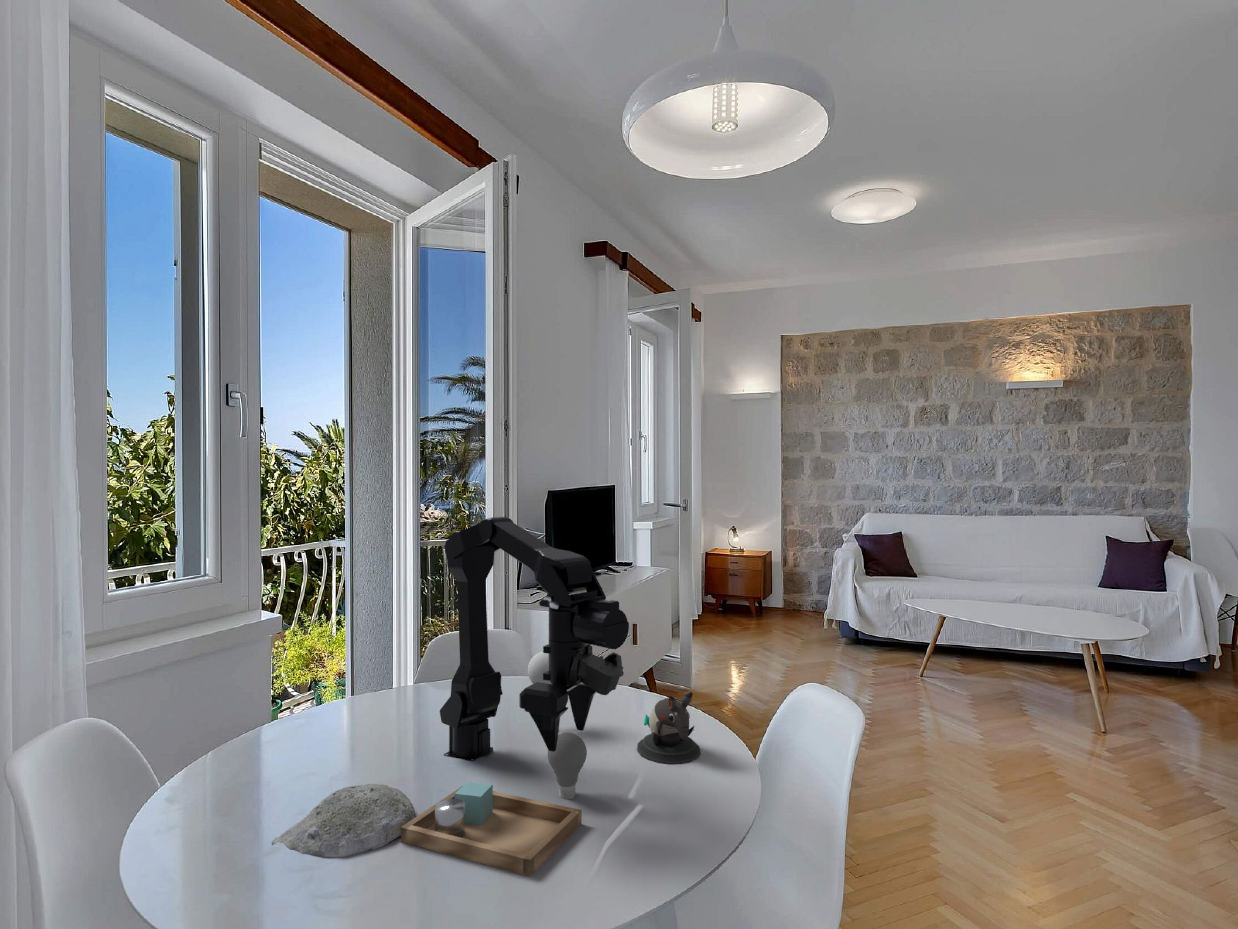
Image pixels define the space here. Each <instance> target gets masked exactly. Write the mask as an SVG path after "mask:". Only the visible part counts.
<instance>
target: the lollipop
mask: <svg viewBox="0 0 1238 929" xmlns="http://www.w3.org/2000/svg"><path fill="white" fill-rule="evenodd" d="M548 667H549V654H548V653H543V651H539V652H538V653H536V654H534V656H532V658H531V659H530V660H529V663H528V666H527V676H528V679H529V681H530V682H531V683H532V684H534V683H536V682H540V683H547V684H552V683H551V681H547V680H543V673H545V672H547V671H548Z"/></svg>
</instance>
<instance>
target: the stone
mask: <svg viewBox="0 0 1238 929" xmlns="http://www.w3.org/2000/svg"><path fill="white" fill-rule="evenodd" d="M415 814H416V811H415V806H414V805H413V803H412V802H411V800H410V798H408V796H407V795H406V794H405V793H404V792H402V790H400V789H399V788H396V787H392V786H388V785H385V784H383V783H382V784H381V783H380V784H379V783H378V784H377V783H366V784H360V785H352V786H350V785H349V786H345V787H343V788H340V789H338V790H335V791H333V792H331V793H330V794H329V795H327V796H326V797H325V798H323V799H322V800H321V801H319V803H318V804H317V805H315V806H314V807H313V808H312V809H311V810H310V811H309V812H308V813H307V814H306V815H305V817H303V818H302V819H300V821H299V822H297V823H296V824H294V825H292V826H291V827H289V828H288V829H287V830H285V831H284V832H282V833H281V834H280V835H279V836H278V837H275V838H274V839H273V840H272V841H271V846H274V845H276V844H277V843H280V844H283V845H284V846H285V847H286V848H287V849H288V850H293V851H295V852H298V853H300V854H301V855H310V856H315V857H319V858H345V857H348V856H353V855H357V854H360V853H364V852H368V851H371V850H376V849H379V848H382V847H384V846H385V845H388V844H390V843H391V842H392V841H394V840H395V839H397V838H399V837H401V827H402V826H403V825H405V824H406V823H408V822H409V821H411V820H412V819H414V818H415V817H416V816H415Z"/></svg>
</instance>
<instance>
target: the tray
mask: <svg viewBox="0 0 1238 929" xmlns="http://www.w3.org/2000/svg"><path fill="white" fill-rule="evenodd" d="M461 787H462V786H460V787H459V788H457V789H456V790H454V791H453V792H451V793H450V794H448V795H447V796H445V797H444V798H442V799H440V800H439V801H438V802H436V803H435V804H433V805H432V806H430V807H429V808H427V809H426V810H424V811H423V812H421V813H420V814H418V815H416V816H415V818H414V819H412V820H411V821H409V822H408V823H406V824H405V825H403V826H402V827H401V836H400V843H404V844H408V845H411V846H415V847H419V848H423V849H427V850H429V851H434V852H437V853H441V854H445V855H449V856H452V857H456V858H460V859H463V860H467V861H471V862H475V863H478V864H483V865H487V866H490V867H494V868H497V869H501V870H505V871H509V872H512V873H517V874H521V875H524V876H527V877H531V876H532V875H533V874H534V873H535V872H536V871H537V870H538V869H539V868H540V867H541V866H542V865H543V864H544V862H546V861H547V860H548V859H549V858H550V856H552V855H553V854H554V853H555V852H556V850H558V849H559V848H560V846H561V845H562V844H563V843H564V842H565V841H566V840H567V839H569V837H570V836H571V835H572V834H574V832H576V831H577V829H578V828H579V827H580V826H581V825H582V815H583V814H582V809H580V808H579V809H578V808H574V807H569V806H565V805H561V804H560V805H559V804H556V803H551V802H546V801H540V800H538V799H537V800H536V799H532V798H529V797H528V798H527V797H522V796H519V795H514V794H513V795H512V794H510V793H509V794H508V793H503V792H499V791H494V790H493V812H492V813H491V815H490V816H489V817H488V818H487V819H486V820H485V821H484V822H483V824H482V825H473V824H465V835H464V837H463V838H460V837H456V836H452V835H448V834H445V833H441V832H437V831H435V805H436V804H437V803H439V802H441V801H443V800H447V799H455V793H456V792H457V791H458V790H459V789H460V788H461Z"/></svg>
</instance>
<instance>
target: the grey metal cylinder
mask: <svg viewBox="0 0 1238 929" xmlns="http://www.w3.org/2000/svg"><path fill="white" fill-rule="evenodd" d="M440 801H441V800H440ZM438 802H439V801H438ZM438 802H436V803H437V804H436V803H435V804H436V805H435V804H434V805H435V831H437V832H441V833H445V834H448V835H452V836H456V837H460V838H463V837H464V835H465V802H464V801H462V800H460V799H447V800H443V801H441V802H439V803H438Z"/></svg>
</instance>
